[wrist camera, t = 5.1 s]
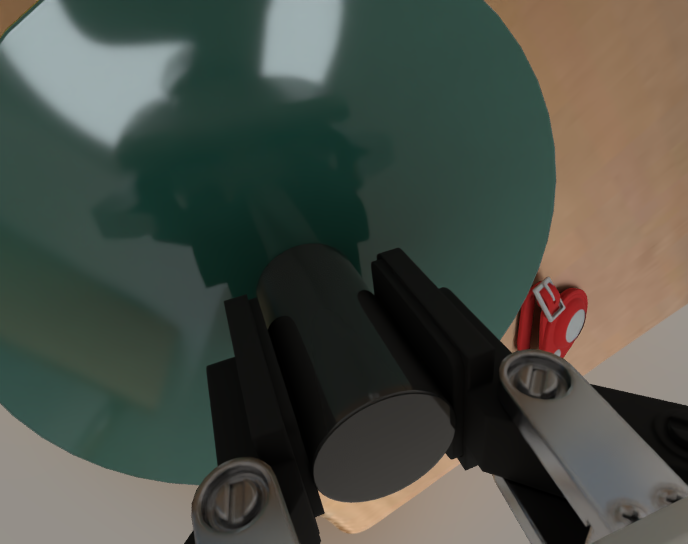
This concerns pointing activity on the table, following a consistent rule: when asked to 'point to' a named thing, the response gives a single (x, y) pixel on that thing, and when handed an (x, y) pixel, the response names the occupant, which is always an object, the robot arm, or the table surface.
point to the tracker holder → (553, 317)
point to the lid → (256, 217)
